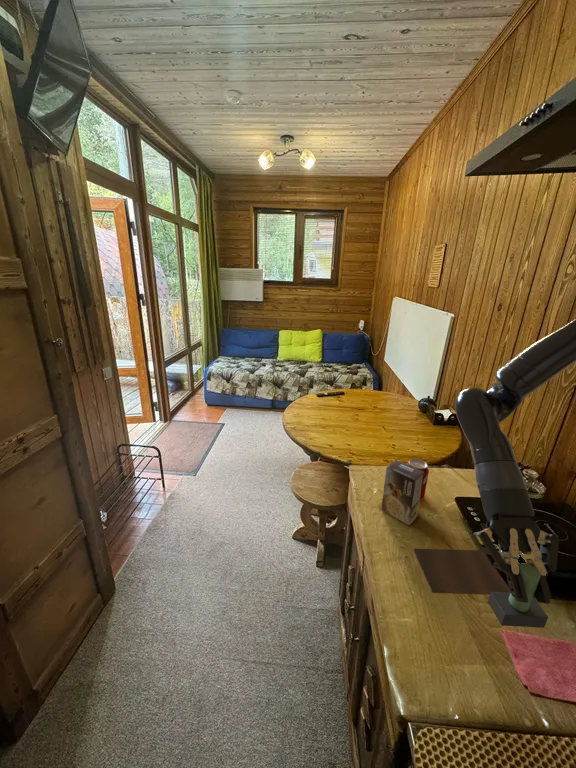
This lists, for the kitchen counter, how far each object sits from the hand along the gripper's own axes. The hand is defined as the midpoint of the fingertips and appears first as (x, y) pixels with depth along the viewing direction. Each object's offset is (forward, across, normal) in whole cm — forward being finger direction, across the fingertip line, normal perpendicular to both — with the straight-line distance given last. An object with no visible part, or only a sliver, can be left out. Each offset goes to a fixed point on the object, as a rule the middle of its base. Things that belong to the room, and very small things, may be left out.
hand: (532, 601), depth 49 cm
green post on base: (+3, 0, +6) cm, 6 cm away
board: (-2, +2, +27) cm, 27 cm away
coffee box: (-15, -7, +41) cm, 44 cm away
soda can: (-22, +1, +48) cm, 53 cm away
